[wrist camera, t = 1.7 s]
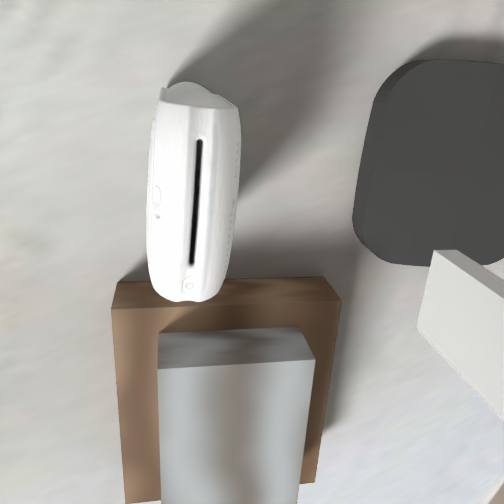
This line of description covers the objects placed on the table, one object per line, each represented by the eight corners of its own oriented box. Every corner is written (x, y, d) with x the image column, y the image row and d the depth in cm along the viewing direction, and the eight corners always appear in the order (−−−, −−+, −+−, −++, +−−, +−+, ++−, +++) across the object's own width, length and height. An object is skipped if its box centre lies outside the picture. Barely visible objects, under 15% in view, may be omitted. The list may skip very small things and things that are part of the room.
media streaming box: (377, 53, 30) (398, 51, 27) (558, 74, 33) (594, 74, 30) (342, 252, 35) (356, 267, 33) (500, 255, 38) (526, 269, 36)
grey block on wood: (129, 463, 40) (120, 553, 32) (117, 282, 33) (103, 343, 25) (302, 446, 42) (329, 525, 35) (323, 276, 36) (363, 330, 28)
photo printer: (210, 233, 33) (233, 321, 21) (150, 231, 32) (141, 320, 21) (223, 85, 29) (258, 97, 18) (156, 77, 28) (148, 84, 17)
